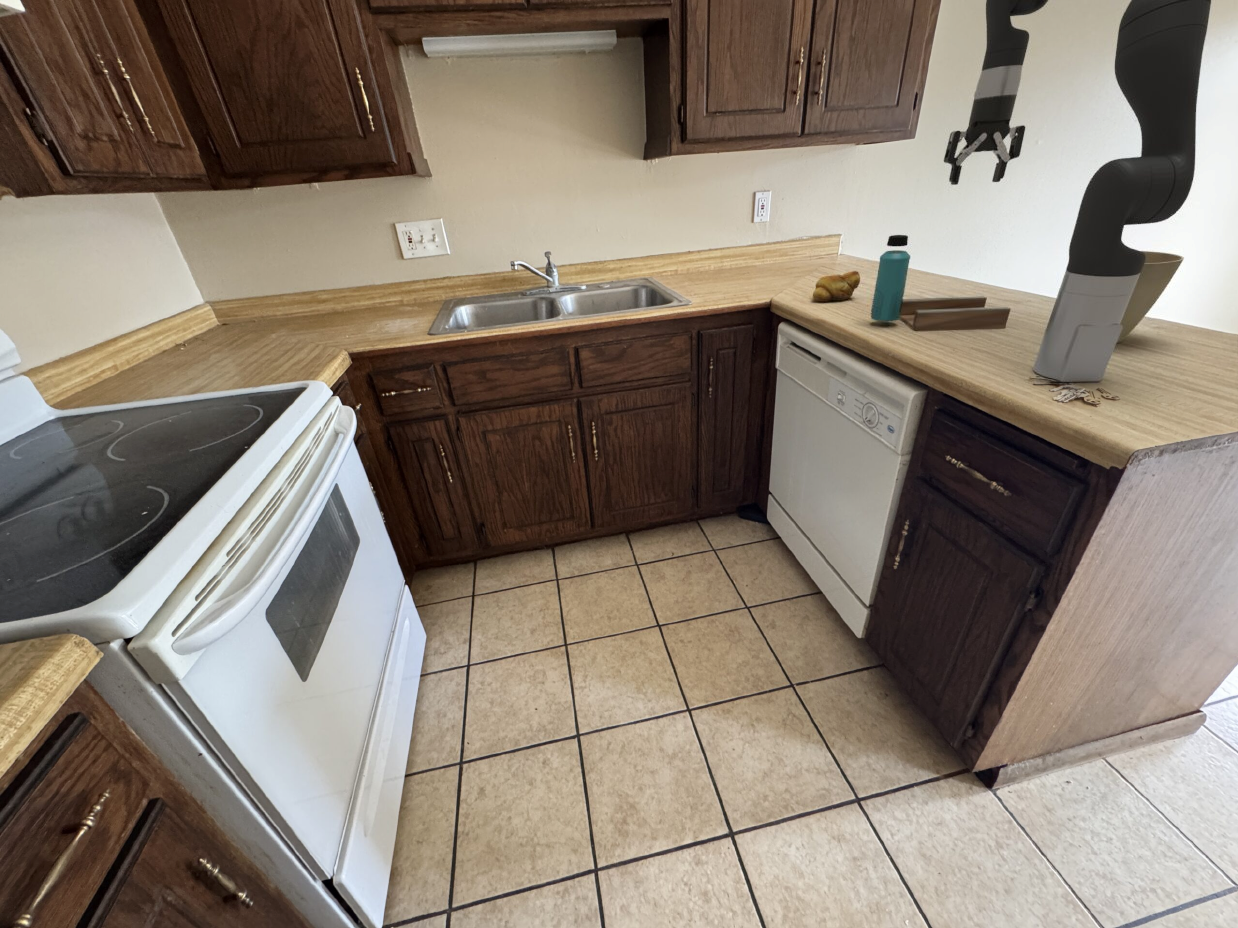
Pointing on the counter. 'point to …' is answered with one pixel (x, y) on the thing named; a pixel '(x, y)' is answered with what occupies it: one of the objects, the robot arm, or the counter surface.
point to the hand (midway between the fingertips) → (975, 183)
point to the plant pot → (1149, 287)
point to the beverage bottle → (891, 281)
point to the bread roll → (836, 287)
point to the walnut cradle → (952, 314)
